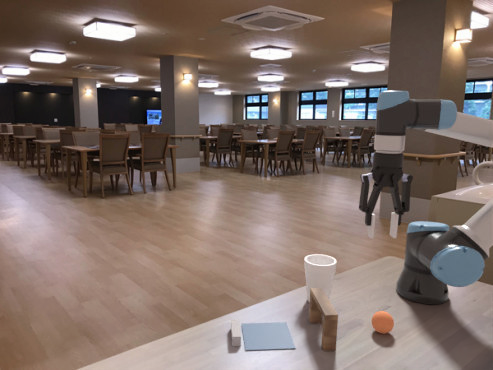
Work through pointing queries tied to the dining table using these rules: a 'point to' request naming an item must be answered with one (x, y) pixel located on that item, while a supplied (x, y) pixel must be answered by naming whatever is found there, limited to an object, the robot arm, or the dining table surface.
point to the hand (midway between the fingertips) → (381, 236)
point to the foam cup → (319, 273)
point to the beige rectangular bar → (235, 333)
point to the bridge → (324, 318)
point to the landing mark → (267, 336)
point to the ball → (382, 322)
